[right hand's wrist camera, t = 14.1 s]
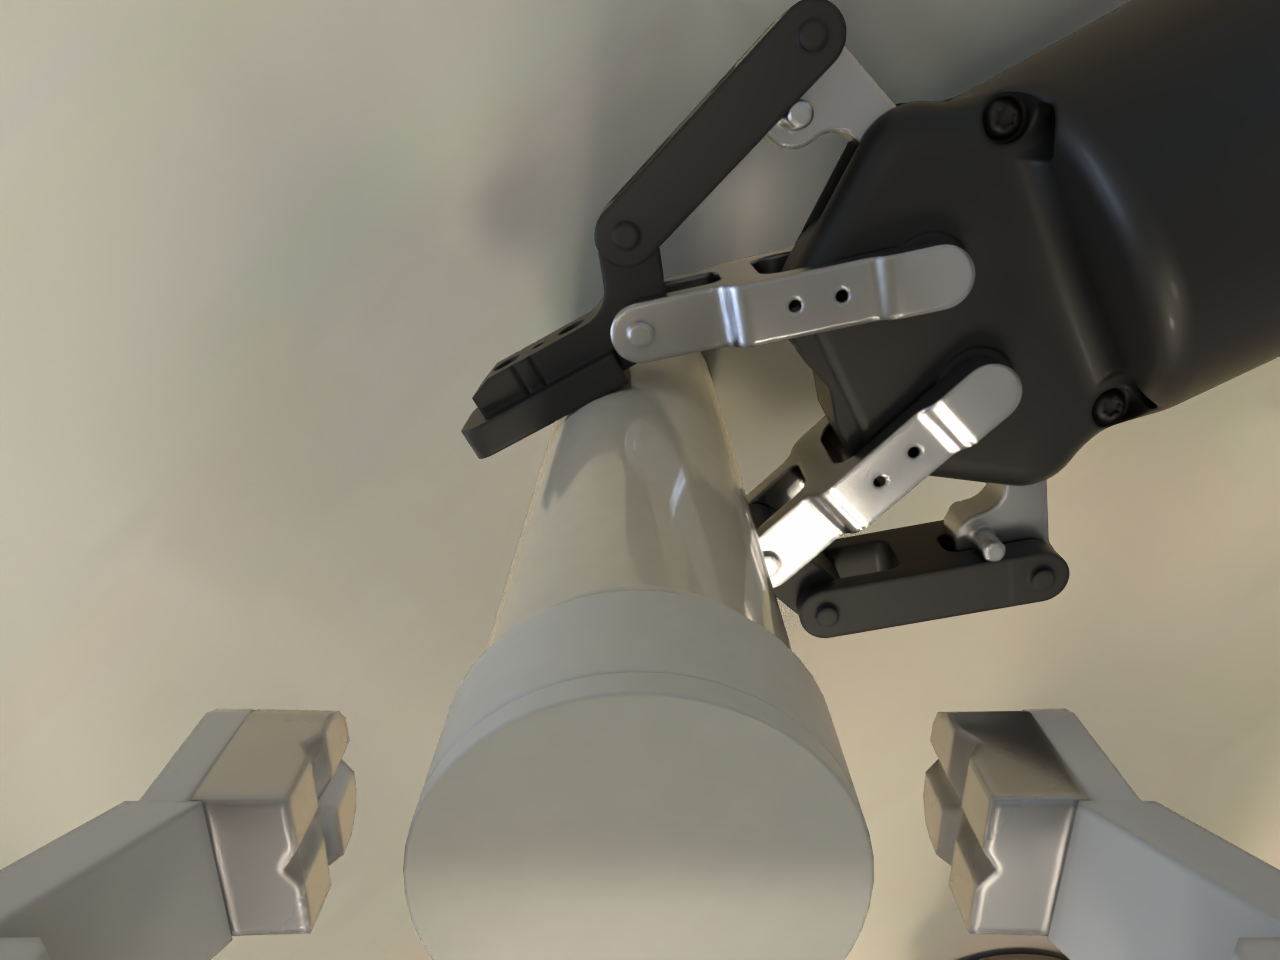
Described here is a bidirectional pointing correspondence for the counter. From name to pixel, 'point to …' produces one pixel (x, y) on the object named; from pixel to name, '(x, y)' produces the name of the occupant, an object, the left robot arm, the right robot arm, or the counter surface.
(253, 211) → the counter surface
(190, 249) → the counter surface
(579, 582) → the cream cylinder
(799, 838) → the lid
